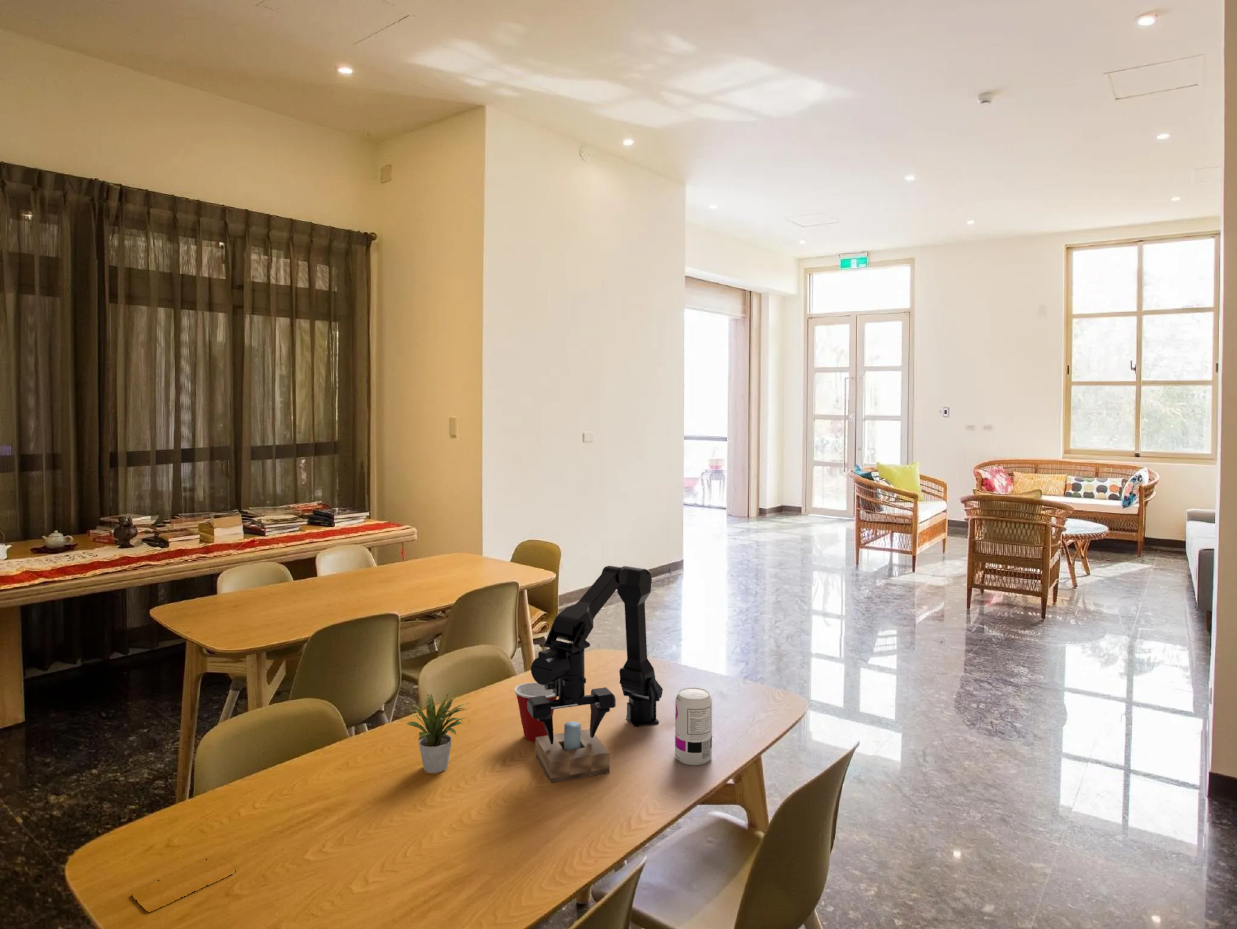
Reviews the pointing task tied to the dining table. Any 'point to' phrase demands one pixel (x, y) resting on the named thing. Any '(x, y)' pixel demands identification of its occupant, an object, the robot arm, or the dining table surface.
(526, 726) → the plastic cup
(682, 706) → the supplement can
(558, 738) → the bore block
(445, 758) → the house plant
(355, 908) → the dining table surface
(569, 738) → the pin
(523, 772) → the dining table surface
